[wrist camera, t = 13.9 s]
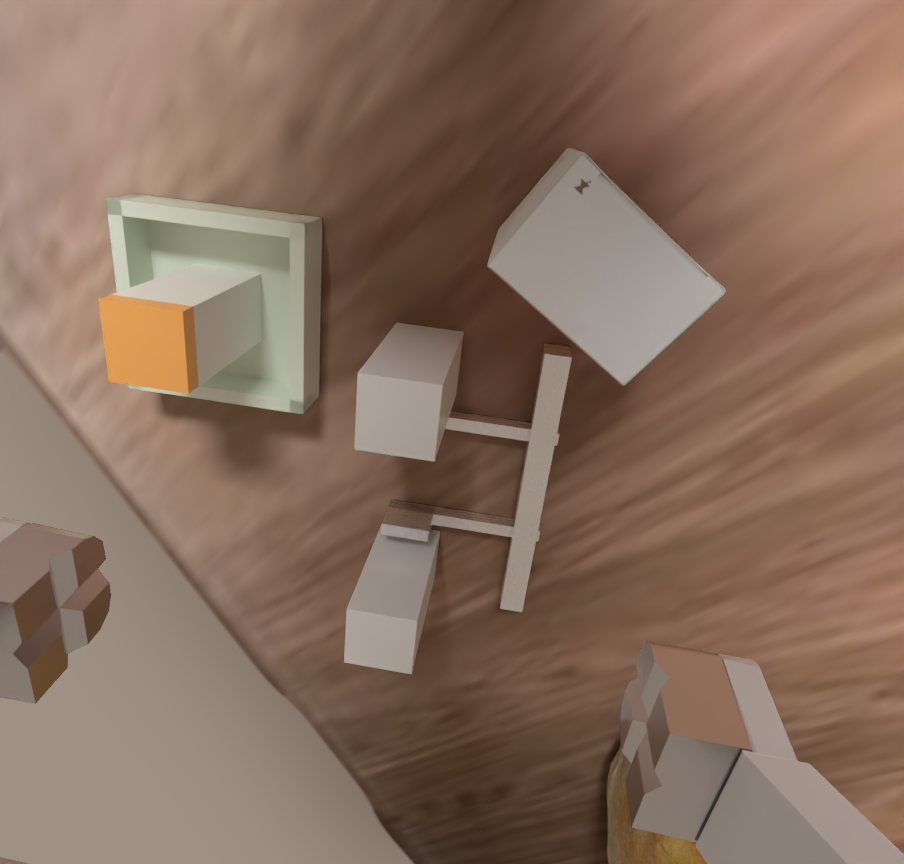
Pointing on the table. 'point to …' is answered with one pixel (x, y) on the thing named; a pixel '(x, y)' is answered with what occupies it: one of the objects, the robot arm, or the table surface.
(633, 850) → the rough brown rock
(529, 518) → the rail
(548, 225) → the small box
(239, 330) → the block
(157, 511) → the table surface
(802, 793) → the robot arm
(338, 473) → the table surface
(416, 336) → the block
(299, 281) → the tray
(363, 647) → the block
